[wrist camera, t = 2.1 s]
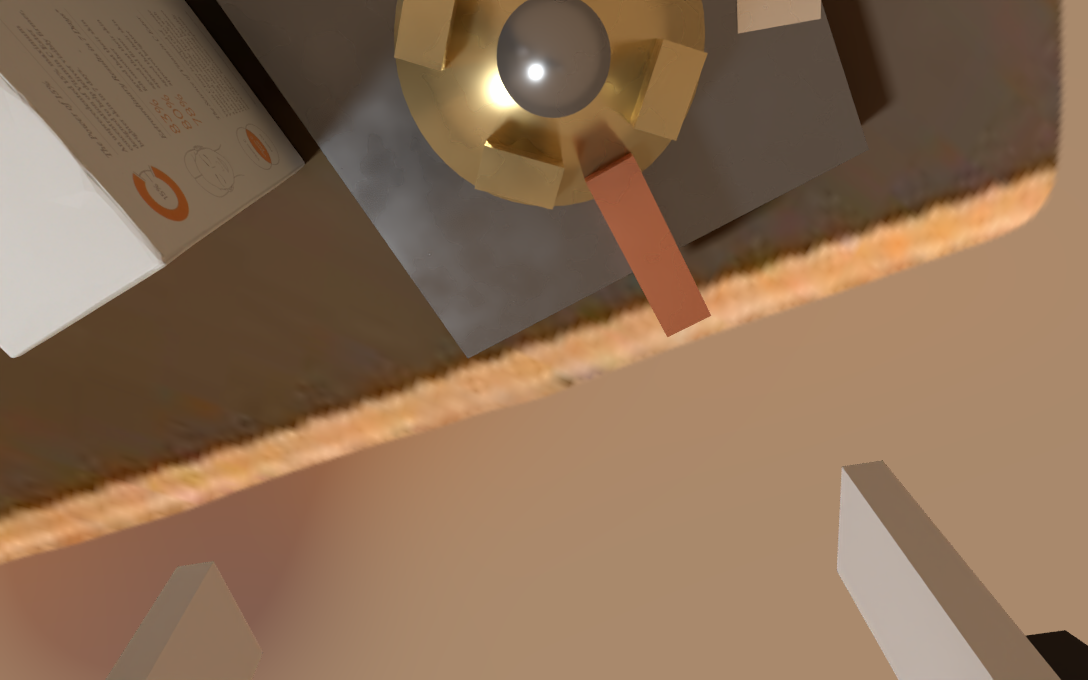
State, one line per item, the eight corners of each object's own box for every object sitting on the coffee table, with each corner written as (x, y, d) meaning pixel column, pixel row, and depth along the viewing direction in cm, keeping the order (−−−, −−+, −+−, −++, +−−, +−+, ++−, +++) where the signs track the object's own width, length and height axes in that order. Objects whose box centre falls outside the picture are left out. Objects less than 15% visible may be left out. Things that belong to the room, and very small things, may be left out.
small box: (69, 75, 27) (-265, 116, 16) (182, -9, 26) (-93, -32, 14) (205, 234, 31) (10, 366, 19) (311, 165, 29) (171, 262, 18)
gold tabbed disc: (346, -12, 24) (318, -17, 21) (611, -193, 22) (626, -229, 18) (569, 350, 31) (574, 389, 28) (785, 241, 29) (818, 269, 26)
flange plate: (471, 335, 33) (457, 421, 26) (201, -59, 25) (73, -90, 18) (846, 137, 29) (949, 175, 22) (666, -404, 21) (738, -618, 14)
